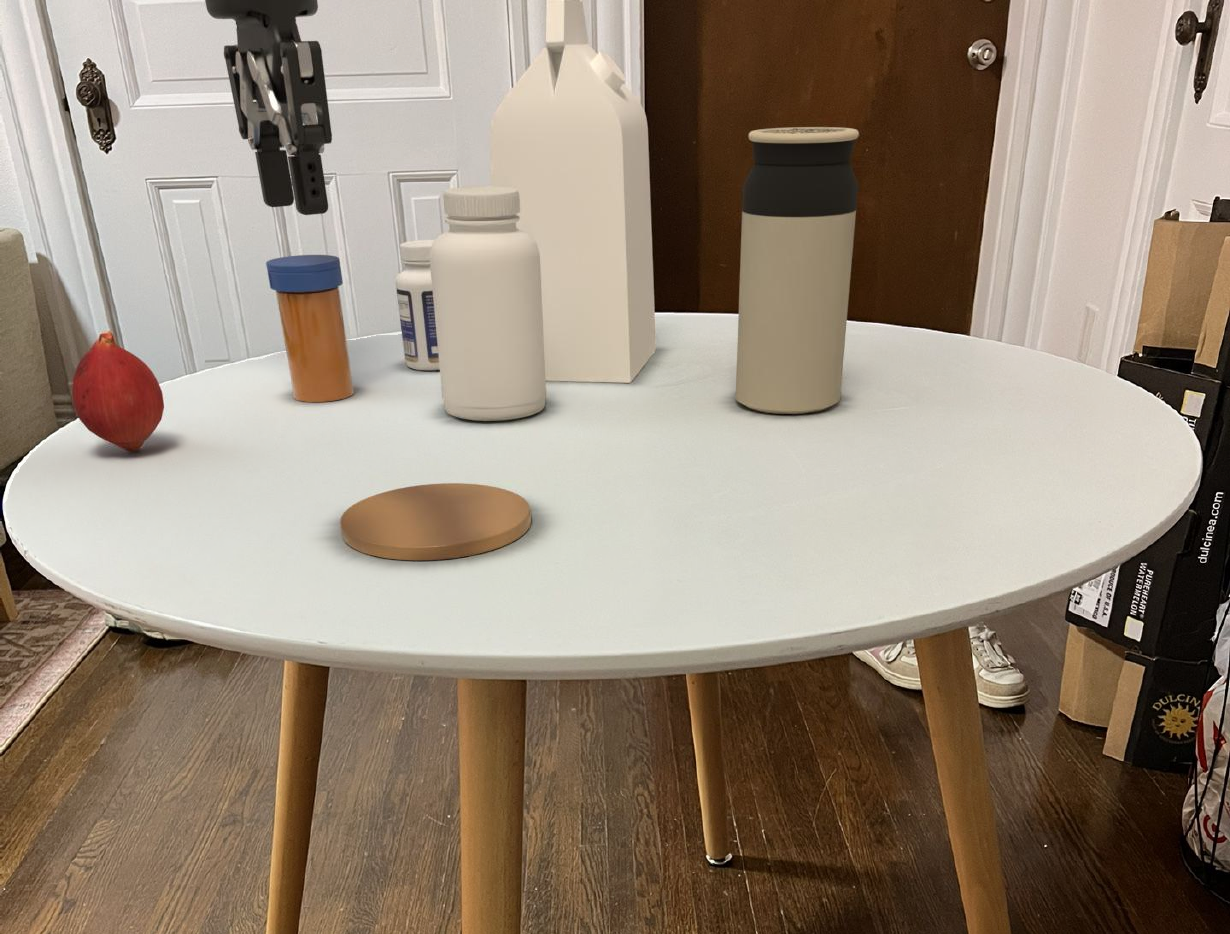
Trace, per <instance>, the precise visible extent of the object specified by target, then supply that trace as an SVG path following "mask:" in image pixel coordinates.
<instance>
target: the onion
mask: <svg viewBox="0 0 1230 934" xmlns="http://www.w3.org/2000/svg"><path fill="white" fill-rule="evenodd" d="M71 396H72V403H73V408H74V410H75V412H76V415H77V418H78V420H79V421H81V423H82V424H83V425H84V427H86V429H87V430H88V431H89V432H90V433H92V434H94V435H96V437H98V438H99V439H102V440H104V441H105V442H108V443H109V444H112V445H114V446H116V447H118V448H120V449H122V450H124V451H126V452H129V453H133V452H138V451H140V450H141V448H142V447H143V446H144V444H145V443H146V441H147V440H148V439H149V438H150V437H151V435H152V434H153V433H154V432H155V431H156V429H157V427H158V426H159V425H160V423H161V421H162V419H163V415H164V409H165V403H164V402H165V401H164V394H163V390H162V388H161V386H160V383H159V381H158V379H157V377H156V375H155V374H154V372H153V371H152V369H151V368H150V367H149V366H148V365H147V364H146V363H145V362H144V361H143V360H142V359H141V358H139V357H138V356H136V355H135V354H133V353H132V352H130V351H129V350H127V349H125V348H123V347H121V346H119V345H118V344H117V343H116V340H115V336H114V334H113V333H112V331H111V330H107V331H106V330H104V331H102V332H100V333H99V335H98V338H97V339H96V340H95V342H94V343H93V344H92V346H91V347H90V348H89V349H88V350H87V351H86V353H84V355H83V356H82V357H81V359H80V361H79V362H78V363H77V366H76V368H75V370H74V374H73V377H72V388H71Z"/></svg>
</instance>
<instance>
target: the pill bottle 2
mask: <svg viewBox="0 0 1230 934" xmlns="http://www.w3.org/2000/svg"><path fill="white" fill-rule="evenodd" d="M442 195H443V207H444V213H445V215H447V216H446V217H445V218H444V223H445V224H448V226H449V229H448V230H447V231H444V232H443V233H442V234H440V235H438V236H437V237H436V238H435V239H434V240H435V241H434V242H433V244H432V246H431V250H430V268H431V279H432V290H433V301H434V311H435V322H436V333H437V344H438V354H439V365H440V370H439V374H440V382H441V383H440V386H441V397H442V401H443V406H444V409H445V411H446V413H447V414H448V415H450V416H453V417H456V418H460V419H463V420H470V421H478V422H479V421H480V422H482V421H483V422H492V421H493V422H495V421H496V422H497V421H508V420H516V419H522V418H526V417H530V416H533V415H536V414H537V413H540V412H541V411H543V410H544V408H545V406H546V401H547V381H546V379H545V357H544V335H543V313H542V291H541V268H540V253H539V250H538V246H537V244H536V242H535V240H534V239H533V238H532V237H531V236H530V235H529V234H527V233H526V232H524V231H521V230H519V229H517V228H516V222H518V221H519V220H520V217H519V216H518V215H515V214H518V213H519V212H520V196H519V192H518V190H517V189H515V188H509V187H493V186H491V185H490V186H488V185H487V186H484V185H483V186H481V185H479V186H463V187H460V186H459V187H452V188H448V189H445V190H444V192H443V193H442Z"/></svg>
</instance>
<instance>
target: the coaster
mask: <svg viewBox="0 0 1230 934" xmlns="http://www.w3.org/2000/svg"><path fill="white" fill-rule="evenodd" d="M339 523H340V529H341V536H342V538H343V541H344V542H345V543H346V544H347V545H348V546H349V547H351V548H352V549H354V550H356V551H358V552H360V553H363V554H366V555H369V556H373V557H377V558H383V559H391V560H400V561H438V560H439V561H441V560H448V559H449V560H450V559H458V558H463V557H464V558H465V557H469V556H474V555H478V554H479V555H480V554H483V553H486V552H491V551H493V550H496V549H500V548H502V547H504V546H507V545H509V544H512V543H513V542H514V541H516V540H518V539H520V538H521V537H522V536H524V535H525V534H526V533H527V532H528V530H529V529H530V527H531V524H532V514H531V506H530V504H529V502H528V501H527V500H526V499H525V497H523V496H521V495H519V494H518V493H516V492H514V491H511V490H508V489H505V488H501V487H498V486H497V487H496V486H492V485H484V484H477V483H464V482H463V483H457V482H456V483H455V482H449V483H446V482H445V483H430V484H429V483H428V484H419V485H412V486H406V487H399V488H396V489H395V488H394V489H391V490H387V491H384V492H380V493H377V494H374V495H372V496H368V497H366V498H364V499H362V500H360V501H358V502H356V503H354V504H352V505H351V506H349V507H348V508H347V509H346V510H345V511H344V512H343V513H342V515H341V517H340V521H339Z"/></svg>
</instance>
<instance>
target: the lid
mask: <svg viewBox="0 0 1230 934" xmlns="http://www.w3.org/2000/svg"><path fill="white" fill-rule="evenodd" d="M265 262H266V263H265V267H266V270H267V277H268V282H269V288H270V289H271V290H273V291H275V292H276V291H283V292H306V291H318V290H325V289H331V288H335V287H340V286H342V285H343V283H344V282H343V281H344V280H343V274H342V268H341V259H340V257H339V256H335V255H330V254H300V255H289V256H282V257H275V258H272V259H268V260H267V261H265Z"/></svg>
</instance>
